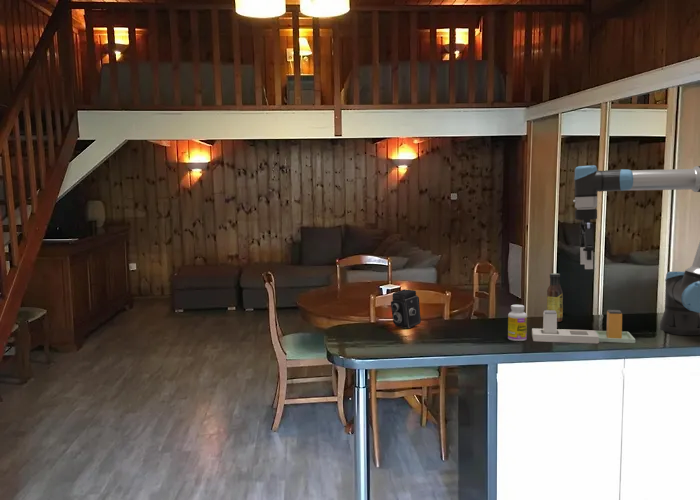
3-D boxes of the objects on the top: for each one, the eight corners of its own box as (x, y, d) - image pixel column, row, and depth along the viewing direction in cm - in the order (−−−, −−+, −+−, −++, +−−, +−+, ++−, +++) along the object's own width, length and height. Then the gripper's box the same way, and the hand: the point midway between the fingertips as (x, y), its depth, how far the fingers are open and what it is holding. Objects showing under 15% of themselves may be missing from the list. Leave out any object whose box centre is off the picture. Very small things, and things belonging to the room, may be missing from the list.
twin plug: (555, 337, 224) (555, 310, 223) (556, 340, 220) (557, 312, 219) (543, 336, 225) (543, 310, 224) (543, 339, 221) (544, 312, 220)
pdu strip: (594, 338, 223) (594, 330, 223) (598, 345, 214) (598, 336, 213) (531, 336, 229) (532, 328, 228) (533, 342, 219) (533, 334, 219)
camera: (385, 327, 249) (384, 291, 247) (404, 323, 256) (404, 287, 255) (404, 331, 241) (403, 294, 239) (423, 327, 248) (423, 290, 246)
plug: (619, 336, 222) (619, 310, 222) (621, 339, 218) (622, 312, 217) (606, 336, 224) (606, 309, 223) (608, 339, 219) (609, 312, 218)
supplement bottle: (516, 343, 219) (516, 308, 218) (504, 339, 225) (504, 305, 223) (530, 340, 222) (531, 306, 221) (517, 337, 228) (518, 303, 226)
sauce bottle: (563, 322, 250) (564, 274, 249) (547, 322, 252) (548, 274, 250) (561, 319, 257) (562, 272, 255) (545, 319, 258) (546, 272, 256)
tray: (628, 336, 225) (628, 331, 225) (635, 344, 214) (635, 339, 213) (593, 335, 228) (593, 330, 228) (598, 343, 217) (598, 338, 216)
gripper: (571, 207, 234) (572, 262, 236) (578, 210, 210) (579, 271, 212) (592, 207, 232) (592, 262, 234) (602, 209, 208) (602, 270, 210)
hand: (586, 266), depth 223 cm, fingers open, 13 cm apart
